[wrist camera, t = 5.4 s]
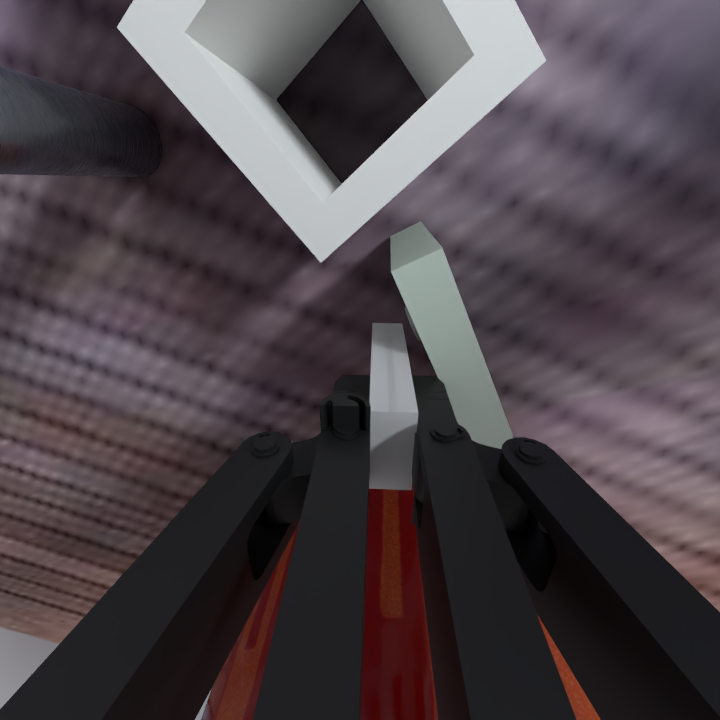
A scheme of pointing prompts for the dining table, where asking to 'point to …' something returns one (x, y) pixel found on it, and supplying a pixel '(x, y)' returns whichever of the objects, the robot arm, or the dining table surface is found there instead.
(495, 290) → the dining table surface
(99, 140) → the pin
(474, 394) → the loose leaf
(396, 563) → the planter
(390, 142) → the fixed hinge
